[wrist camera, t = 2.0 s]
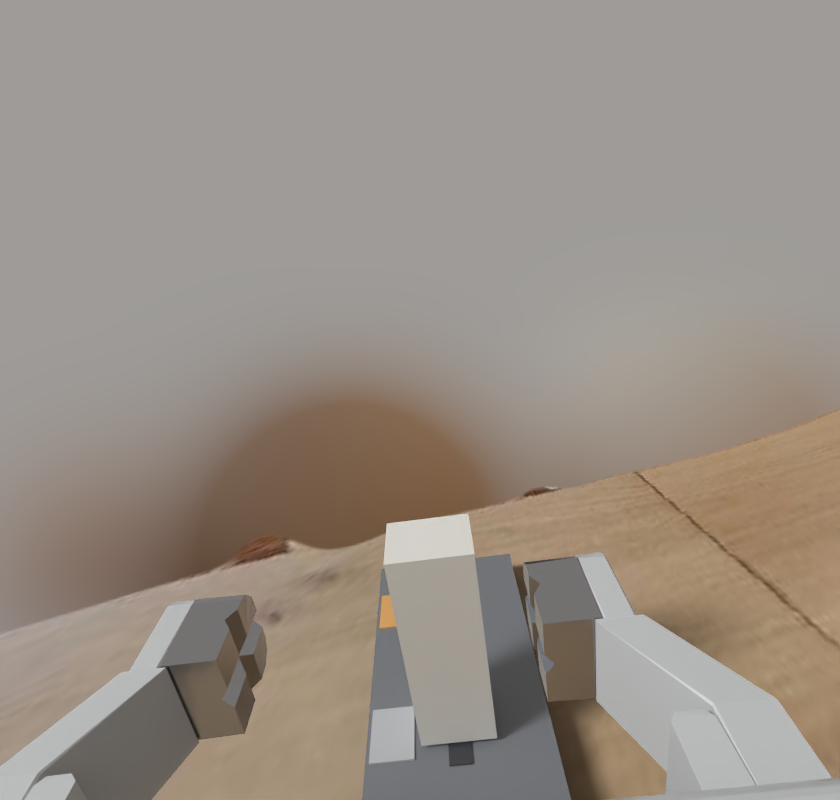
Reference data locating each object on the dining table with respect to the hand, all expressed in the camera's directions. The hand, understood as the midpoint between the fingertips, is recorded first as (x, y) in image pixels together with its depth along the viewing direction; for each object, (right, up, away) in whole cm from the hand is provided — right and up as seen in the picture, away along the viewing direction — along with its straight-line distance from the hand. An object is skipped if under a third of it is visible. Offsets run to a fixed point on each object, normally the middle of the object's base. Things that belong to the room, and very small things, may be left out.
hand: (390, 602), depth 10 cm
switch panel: (+3, -14, +23) cm, 27 cm away
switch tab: (+3, -13, +19) cm, 23 cm away
